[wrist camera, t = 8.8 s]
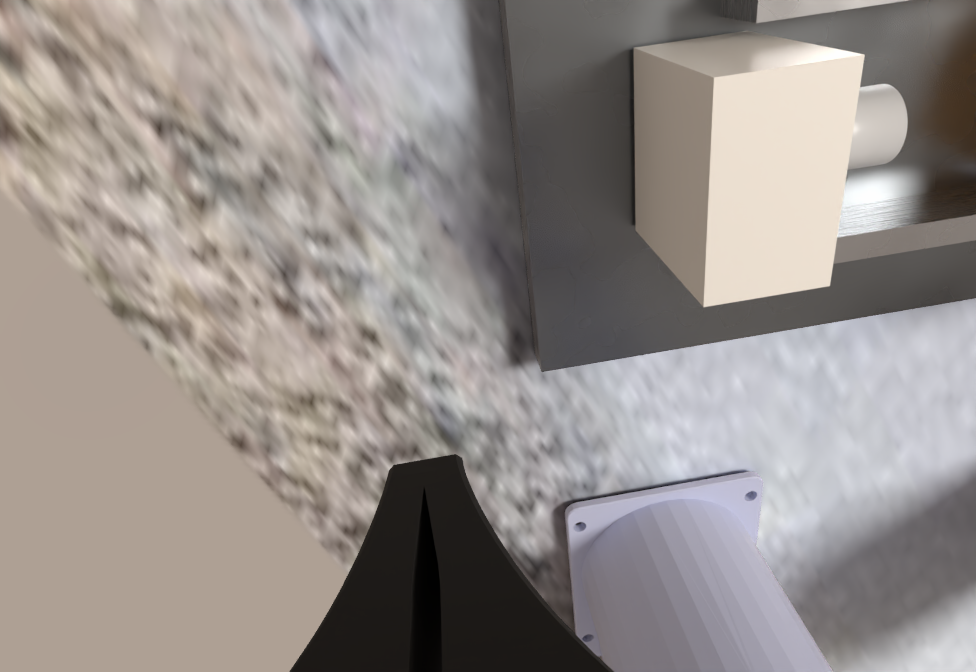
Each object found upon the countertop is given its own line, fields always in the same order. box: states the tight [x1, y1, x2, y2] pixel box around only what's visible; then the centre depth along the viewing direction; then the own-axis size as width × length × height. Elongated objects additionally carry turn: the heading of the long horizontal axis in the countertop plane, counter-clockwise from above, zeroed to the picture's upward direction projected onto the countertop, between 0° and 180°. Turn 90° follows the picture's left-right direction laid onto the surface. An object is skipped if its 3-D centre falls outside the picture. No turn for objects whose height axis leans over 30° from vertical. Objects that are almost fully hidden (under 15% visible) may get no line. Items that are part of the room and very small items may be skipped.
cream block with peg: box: [634, 31, 908, 307], centre depth 16 cm, size 6×5×5 cm
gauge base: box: [499, 0, 976, 372], centre depth 17 cm, size 21×14×7 cm, turn 97°
